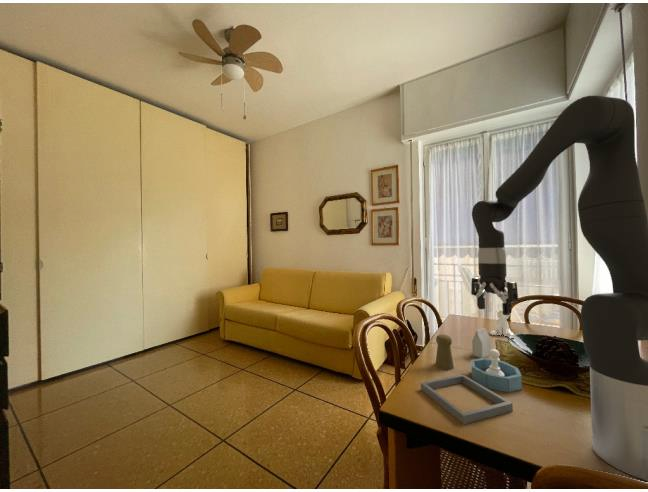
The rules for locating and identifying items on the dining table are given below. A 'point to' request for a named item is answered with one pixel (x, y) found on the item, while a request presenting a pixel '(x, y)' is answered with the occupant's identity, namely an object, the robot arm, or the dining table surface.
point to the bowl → (502, 383)
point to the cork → (444, 352)
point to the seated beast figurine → (502, 325)
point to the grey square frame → (477, 414)
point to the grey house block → (481, 343)
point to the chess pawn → (494, 363)
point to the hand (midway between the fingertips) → (493, 311)
